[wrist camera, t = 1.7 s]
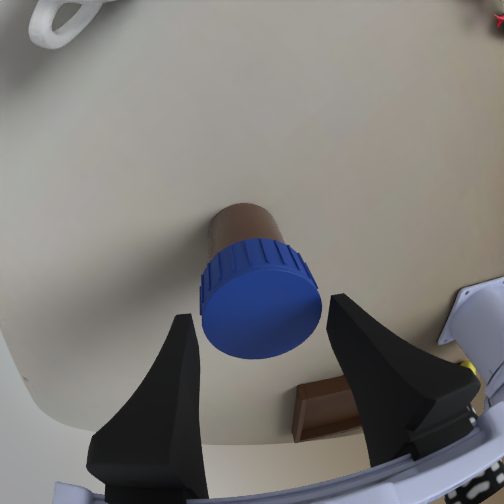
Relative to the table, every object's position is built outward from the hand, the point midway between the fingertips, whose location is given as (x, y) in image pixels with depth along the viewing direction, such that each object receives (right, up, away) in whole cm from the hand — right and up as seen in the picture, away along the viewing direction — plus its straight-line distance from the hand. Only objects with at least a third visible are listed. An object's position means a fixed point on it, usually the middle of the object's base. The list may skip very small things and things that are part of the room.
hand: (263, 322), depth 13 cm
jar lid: (0, 0, 0) cm, 0 cm away
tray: (+10, -15, +20) cm, 26 cm away
